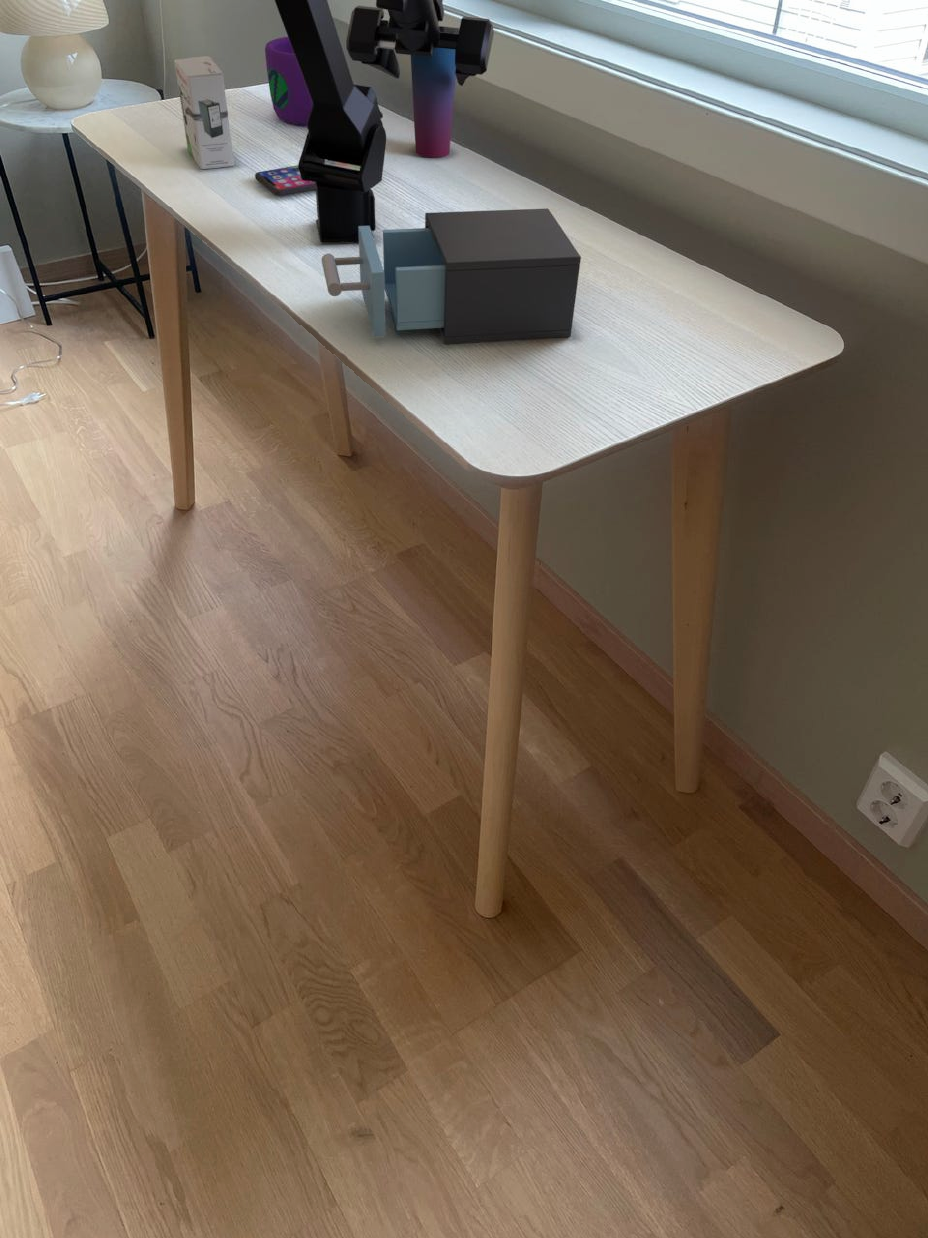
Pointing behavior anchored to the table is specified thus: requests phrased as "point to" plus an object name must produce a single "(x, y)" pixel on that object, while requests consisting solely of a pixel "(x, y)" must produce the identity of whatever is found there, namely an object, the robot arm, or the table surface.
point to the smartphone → (291, 179)
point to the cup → (433, 101)
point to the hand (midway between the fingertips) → (430, 78)
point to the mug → (287, 83)
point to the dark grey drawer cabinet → (505, 275)
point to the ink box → (205, 112)
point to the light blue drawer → (396, 278)
